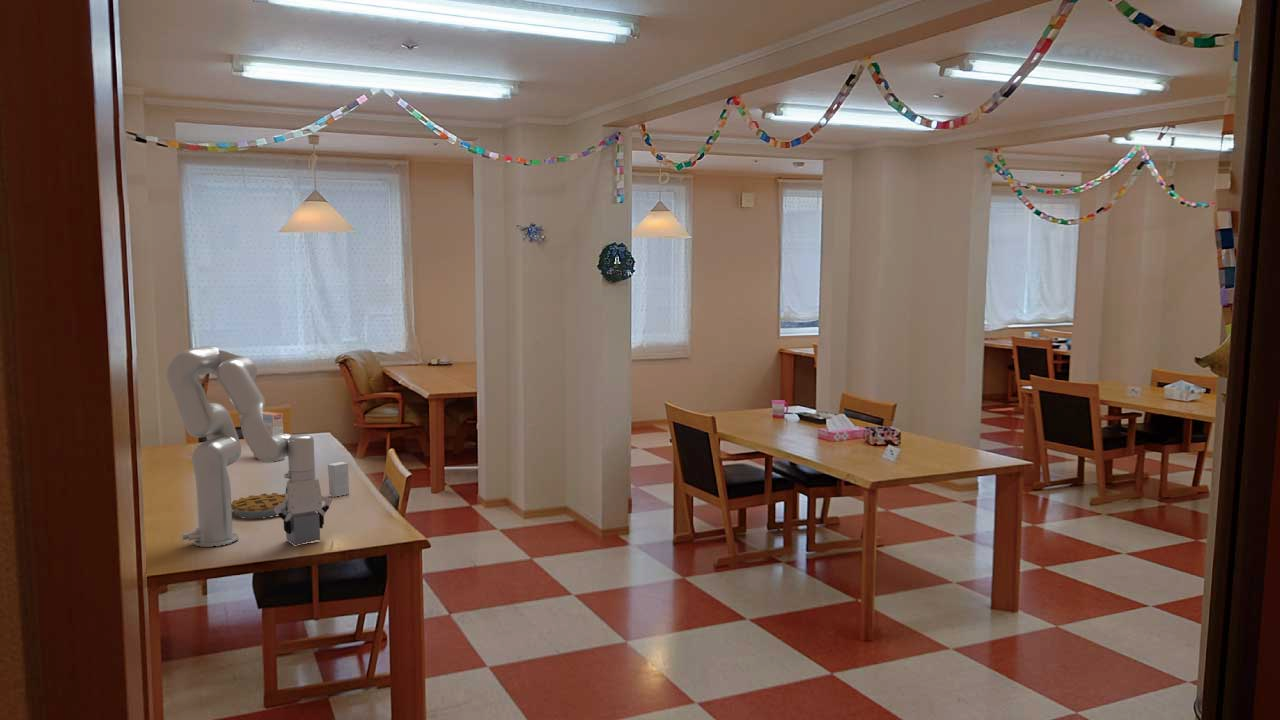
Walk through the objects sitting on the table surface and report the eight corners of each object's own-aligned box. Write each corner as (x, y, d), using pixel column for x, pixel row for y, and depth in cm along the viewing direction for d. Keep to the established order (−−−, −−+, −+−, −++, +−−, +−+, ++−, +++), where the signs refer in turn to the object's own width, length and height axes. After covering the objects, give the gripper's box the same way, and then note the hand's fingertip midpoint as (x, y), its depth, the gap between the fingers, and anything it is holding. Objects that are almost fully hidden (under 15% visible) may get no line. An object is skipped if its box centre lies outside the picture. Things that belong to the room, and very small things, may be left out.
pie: (221, 511, 329) (221, 497, 329) (285, 501, 343) (284, 488, 343) (242, 524, 313) (241, 509, 312) (307, 513, 327) (307, 499, 326)
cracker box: (285, 459, 417) (283, 412, 415) (273, 462, 412) (271, 414, 410) (265, 456, 425) (263, 410, 423) (253, 459, 420) (251, 412, 418)
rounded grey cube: (295, 546, 286) (293, 518, 286) (286, 541, 292) (285, 513, 292) (320, 542, 291) (319, 514, 290) (311, 536, 297) (310, 509, 296)
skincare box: (343, 492, 355) (341, 461, 354) (349, 494, 352) (348, 462, 351) (328, 495, 351) (327, 464, 349) (335, 497, 348) (334, 465, 347)
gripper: (277, 481, 281) (279, 538, 282) (334, 473, 291) (336, 528, 293) (269, 477, 287) (271, 532, 288) (325, 469, 297) (327, 522, 299)
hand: (304, 530), depth 291 cm, fingers open, 9 cm apart
